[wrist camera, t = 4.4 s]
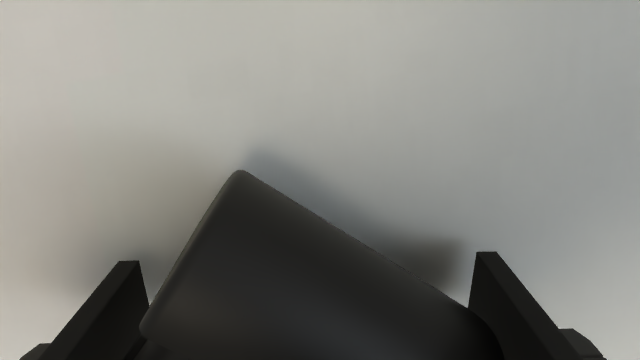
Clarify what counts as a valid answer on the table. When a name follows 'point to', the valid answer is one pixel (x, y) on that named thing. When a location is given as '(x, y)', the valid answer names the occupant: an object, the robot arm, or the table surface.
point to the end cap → (297, 293)
